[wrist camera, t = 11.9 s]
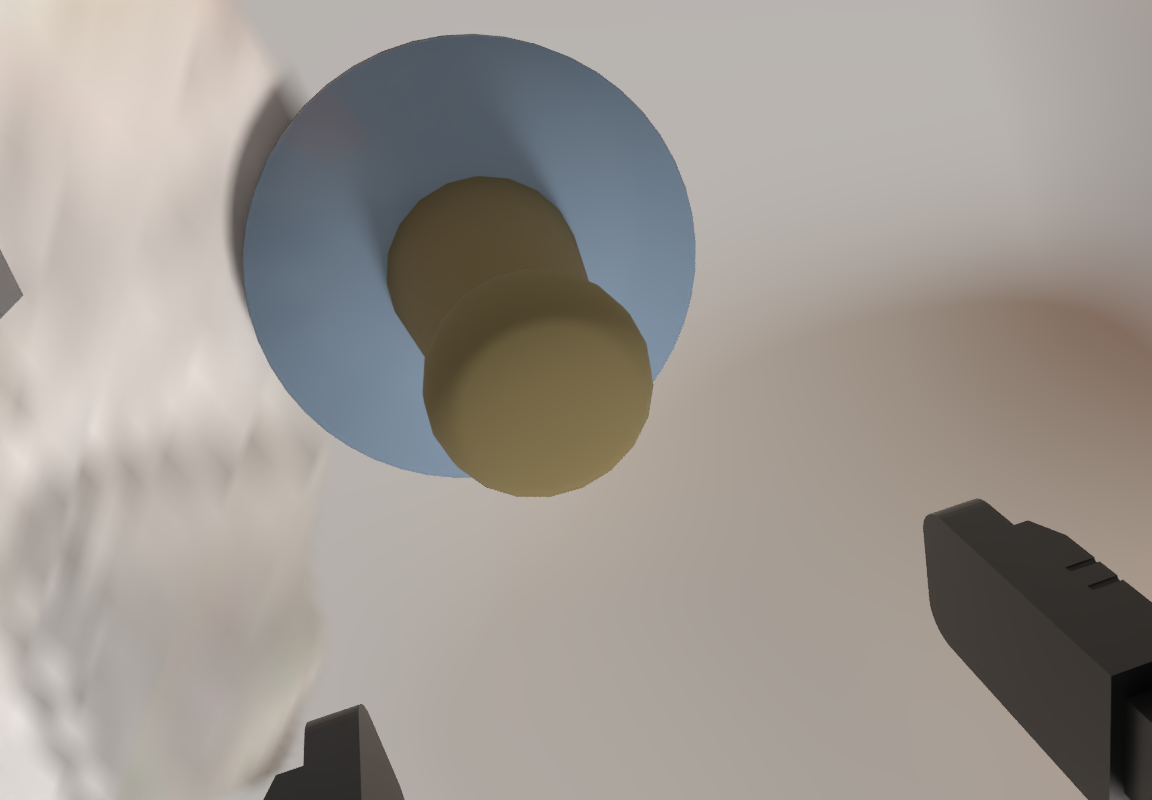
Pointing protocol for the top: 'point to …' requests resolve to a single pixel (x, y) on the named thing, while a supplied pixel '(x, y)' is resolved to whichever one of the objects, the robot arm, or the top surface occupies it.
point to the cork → (516, 340)
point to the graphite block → (7, 287)
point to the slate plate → (419, 167)
